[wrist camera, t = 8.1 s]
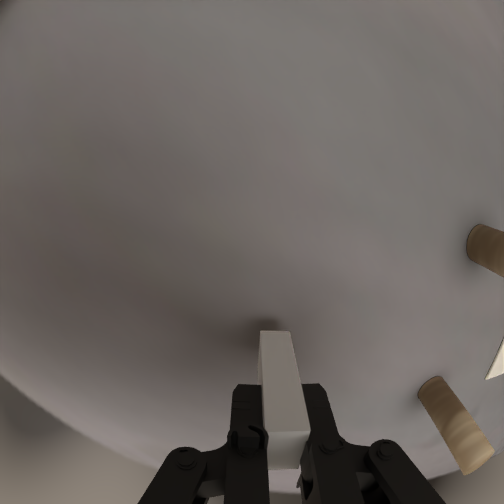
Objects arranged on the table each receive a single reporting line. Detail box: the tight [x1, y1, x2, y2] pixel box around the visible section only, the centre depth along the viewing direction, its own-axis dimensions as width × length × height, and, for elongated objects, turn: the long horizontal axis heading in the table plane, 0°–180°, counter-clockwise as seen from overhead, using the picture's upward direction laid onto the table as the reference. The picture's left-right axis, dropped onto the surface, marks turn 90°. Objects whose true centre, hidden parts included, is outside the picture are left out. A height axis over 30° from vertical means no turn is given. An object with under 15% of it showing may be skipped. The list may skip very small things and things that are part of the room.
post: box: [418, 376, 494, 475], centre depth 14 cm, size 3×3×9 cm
